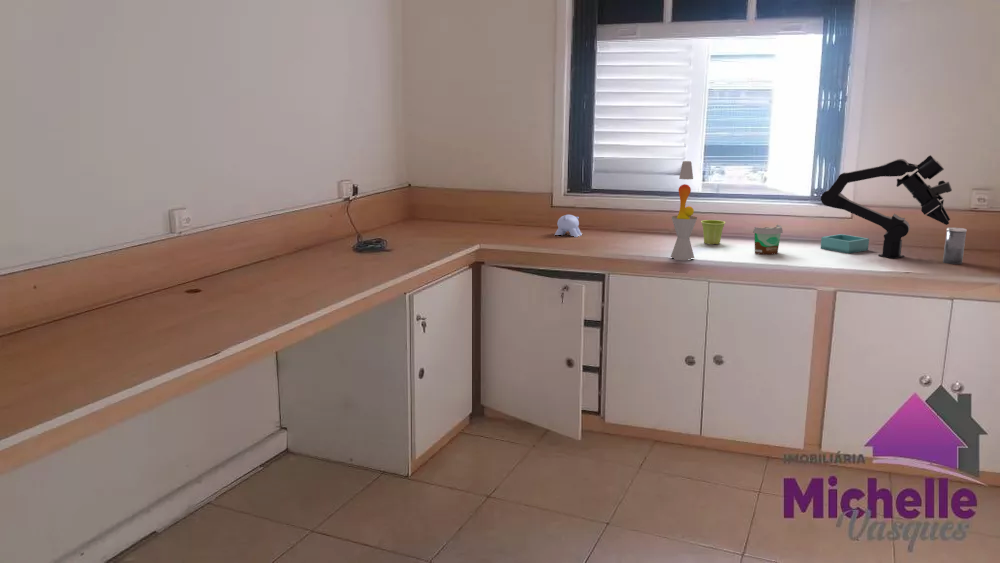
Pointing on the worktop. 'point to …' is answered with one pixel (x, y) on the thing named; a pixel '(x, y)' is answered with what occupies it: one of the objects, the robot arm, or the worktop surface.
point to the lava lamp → (684, 218)
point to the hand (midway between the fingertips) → (948, 222)
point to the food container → (767, 240)
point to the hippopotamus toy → (568, 225)
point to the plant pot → (712, 231)
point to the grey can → (954, 245)
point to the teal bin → (844, 243)
